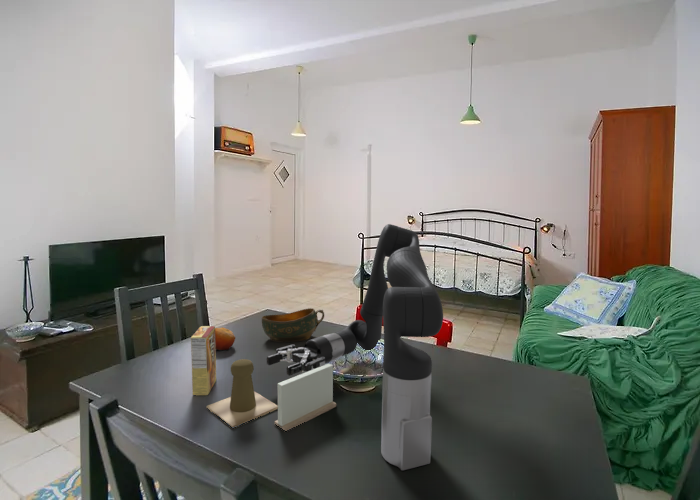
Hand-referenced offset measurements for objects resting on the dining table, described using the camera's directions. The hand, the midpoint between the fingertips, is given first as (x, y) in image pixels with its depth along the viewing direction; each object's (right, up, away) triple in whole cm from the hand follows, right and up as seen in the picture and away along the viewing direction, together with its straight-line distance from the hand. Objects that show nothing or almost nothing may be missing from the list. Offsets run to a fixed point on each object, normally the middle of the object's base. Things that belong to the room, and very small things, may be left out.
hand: (277, 366), depth 101 cm
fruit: (-24, -3, +31) cm, 39 cm away
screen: (+8, -9, -9) cm, 15 cm away
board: (-7, -8, -6) cm, 13 cm away
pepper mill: (-7, -8, -6) cm, 12 cm away
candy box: (-20, -7, +4) cm, 21 cm away
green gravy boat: (-2, -2, +41) cm, 42 cm away
